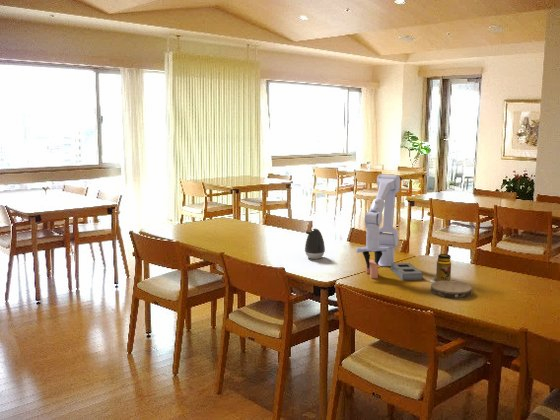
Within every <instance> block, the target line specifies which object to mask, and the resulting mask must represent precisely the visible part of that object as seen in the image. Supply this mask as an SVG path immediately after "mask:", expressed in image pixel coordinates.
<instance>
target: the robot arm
mask: <svg viewBox="0 0 560 420" xmlns="http://www.w3.org/2000/svg"><path fill="white" fill-rule="evenodd" d="M376 186H377V188H378V190H377V193H376V197H375V198H374V199H373V200H372V202H371V204H370V208H369V210H368V211H367V212H366V213H365V215H364V225H365V229H366V231H365V233H366V234H365V236H366V237H365V238H366V239H365V240H366V241H365V243H366V244H365V246H360V247H355V252H356V253H362V255H363V258H364V259H365V266H366V265H367V268H369V260H371V259H370V258H371V254H370V253H374V262H375V263H376V264H377V265H378V266H380V267H391V263H395V248H396V247H398V244H399V239H400V237H399V231H398V230H397V229H396V228H395V227H394V218H395V206H396V205H395V203H396V194H397V193H399V192H400V187H401V178H400V176H399V175H398V174H382V173H380V174H378V175H377V177H376ZM382 219H383V222H382ZM381 223H382V226H381ZM380 226H381V227H380Z"/></svg>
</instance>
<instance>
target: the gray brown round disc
mask: <svg viewBox="0 0 560 420" xmlns="http://www.w3.org/2000/svg"><path fill="white" fill-rule="evenodd" d="M430 285H431V286H430V292H431V294H433V295H434V296H437V297H440V298H447V299H450V300H451V299H453V300H457V299H459V300H460V299H467V298H470V297H471V296H472V289H473V288H472V286H471V285H470V284H468V283H465V282H461V281H455V280H454V281H437V282H436V281H435V282H431V284H430Z"/></svg>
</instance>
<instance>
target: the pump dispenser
mask: <svg viewBox="0 0 560 420" xmlns="http://www.w3.org/2000/svg"><path fill="white" fill-rule="evenodd" d="M305 234H307V238H306V240H305V245H304V252H305V254H306V256H307V258H309V259H311V260H318V259H319V260H320V259H321V258H322V257H323V256H324V254H325V252H326V247H325V241H324V237H323V235H322V233H321V231H320V230H319V229H318V228H312V229H311V230H310V231H308V230H305Z"/></svg>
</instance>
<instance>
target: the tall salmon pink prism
mask: <svg viewBox="0 0 560 420" xmlns="http://www.w3.org/2000/svg"><path fill="white" fill-rule="evenodd" d="M365 273H366V274H369V278H370V279H379V277H378V276H379V274H378V273H379V264H378V265H377V264H376V263H375V260H374V259H370V260H369V268H367V265H366V264H365Z"/></svg>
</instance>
